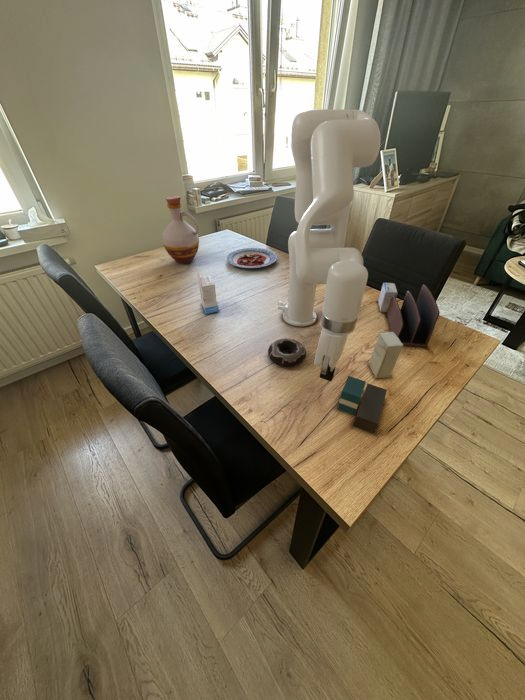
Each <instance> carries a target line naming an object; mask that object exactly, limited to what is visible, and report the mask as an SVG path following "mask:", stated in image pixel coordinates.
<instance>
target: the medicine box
mask: <svg viewBox="0 0 525 700" xmlns="http://www.w3.org/2000/svg"><path fill="white" fill-rule="evenodd" d="M392 296H394V297H395V298H396V299H397V297H398V289H397V286H396V283H393V282H383V283H382V285H381V289H380V293H379V296H378V299H377V303H378V308H379V312H381V313H387V309H388V307H389V304H390V301H391V298H392Z"/></svg>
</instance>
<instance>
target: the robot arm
mask: <svg viewBox="0 0 525 700" xmlns="http://www.w3.org/2000/svg"><path fill="white" fill-rule="evenodd" d="M289 130H290V131H289V138H290V139H289V141H290V149H291V153H292V157H293V161H294V165H295V192H294V193H295V195H294V218H295V222H296V223H297V224H298V225H297V228H296V230H295V231H293V232H291V234H290V235H289V237H288V241H287V249H288V257H289V259H288V261H289V268H288V269H289V271H288V288H287V290H288V291H287V301H286V302H284V301H282V300H278V302H277V306H278V307H277V309H278V310H281V311H283V312H282V319H283V321H284V322H285V323H287V324H288V325H291V326H293V327H308V326H311V325H313V324H314V323H315V322H316V321H317V319H318V316H317V313H316V311H315V310H314V308H315V299H316V293H317V292H316V291H317V285H325V290H324V295H323V296H324V297H323V302H322V308H321V315H320V321H319V327H320V328H321V332H320V335H319V338H318V342H317V346H316V350H315V356H314V359H313V360H314V362H313V364H314V365H315V366H318V367H319V366H320V364H321V366H320V372H319V379H322V380H325V381H328V382H332V381H333V378H334V376H335V371H336V369H337V368H336V366H337V364H338V362H339V360H340V358H341V355H342V353H343V352H344V349H345V346H346V343H347V339H348V336H349V335H350V334H352V333H353V332H354V331H355V330H356V329H355V328H356V325H357V322H358V318H359V313H360V309H361V306H362V302H363V298H364V294H365V291H366V286H367V283H368V280H369V271H368V269H367V267H365V265H364V258H363V255H362V254H361V251H359V249H358V248H355V247H345V245H346V238H347V232H348V227H349V219H350V213H351V202H352V201H353V199H354V194H355V192H354V174H353V172H354V170H353V168H367V167H370V166H372V165H373V164H374V163H375V162H376V161H377V158H378V156H379V153H380V150H381V149H380V148H381V141H382V140H381V139H382V136H381V131H380V127H379V124H378V123H377V121H376V119H374V118H373V116H370V115H369V114H368V113H366V112H365V111H363V110H361V109H345V108H343V109H340V108H339V109H330V108H329V109H328V108H327V109H325V108H323V109H322V108H320V109H318V108H317V109H316V108H315V109H306V110H302V111H300V112H298V113H296V114H295V115H294V116H293V118H292V120H291V122H290V129H289ZM313 226H330V228H312V227H313Z"/></svg>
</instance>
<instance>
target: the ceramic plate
mask: <svg viewBox="0 0 525 700" xmlns="http://www.w3.org/2000/svg"><path fill="white" fill-rule="evenodd" d="M277 259H278V255H277V254H276V253H275V252H273V251H271V250H269V249H265V248H260V247H245V248H239V249H237V250H236V249H235V250H234V251H231V252H229V253H228V255H227V256H226V261H227V262H228V264H230V265H232V266H234V267H237V268H242V269H257V268H264V267H268V266H270V265H272V264H274V263H275V262H276V261H277Z"/></svg>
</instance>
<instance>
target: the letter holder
mask: <svg viewBox="0 0 525 700" xmlns="http://www.w3.org/2000/svg"><path fill="white" fill-rule="evenodd" d="M440 314H441V312H440V309H439V306H438V304H437V301H436V299H435V297H434V295H433V293H432V292H431V290H430V289H429V287H428V286H427V285H426V284H422V285H421V287H420V291H419V294H418V296H417V300H415V298H414V296H413V294H412V292H411V291H410V290H407V291H406V293H405V295H404V298H403V302H402V305H401V307H400V304H399V302H398V300H397V297H396V298H395V297H394V296H392V298H391V301H390V304H389V307H388V309H387V312H386V316H387V321H388V324H389V327H390V332H394V333H395V334H396V336H397V337H398V338H399V340H400V341H401V343H402V344H403V346H409V347H419V348H427V347H428V346H429V345H428V344H429V342H430V339H431V337H432V334H433V332H434V330H435V327H436V324H437V322H438V319H439V316H440Z"/></svg>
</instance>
